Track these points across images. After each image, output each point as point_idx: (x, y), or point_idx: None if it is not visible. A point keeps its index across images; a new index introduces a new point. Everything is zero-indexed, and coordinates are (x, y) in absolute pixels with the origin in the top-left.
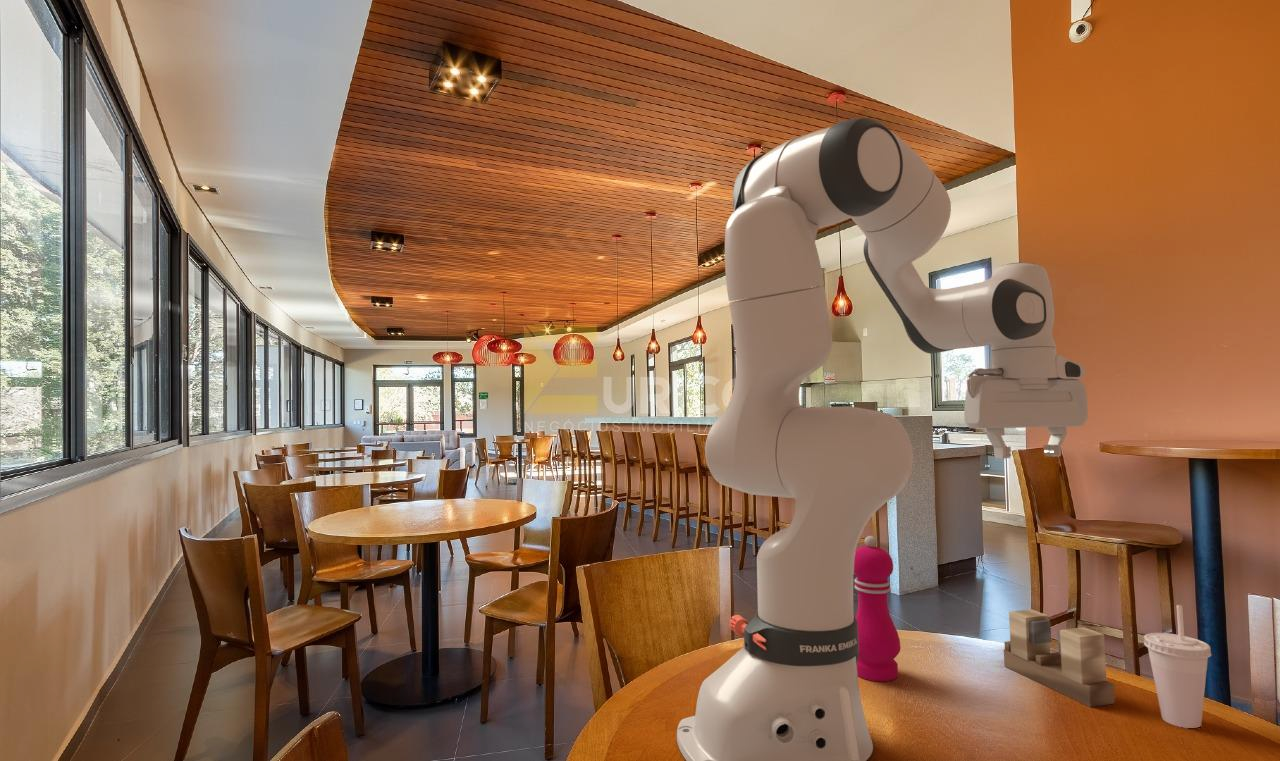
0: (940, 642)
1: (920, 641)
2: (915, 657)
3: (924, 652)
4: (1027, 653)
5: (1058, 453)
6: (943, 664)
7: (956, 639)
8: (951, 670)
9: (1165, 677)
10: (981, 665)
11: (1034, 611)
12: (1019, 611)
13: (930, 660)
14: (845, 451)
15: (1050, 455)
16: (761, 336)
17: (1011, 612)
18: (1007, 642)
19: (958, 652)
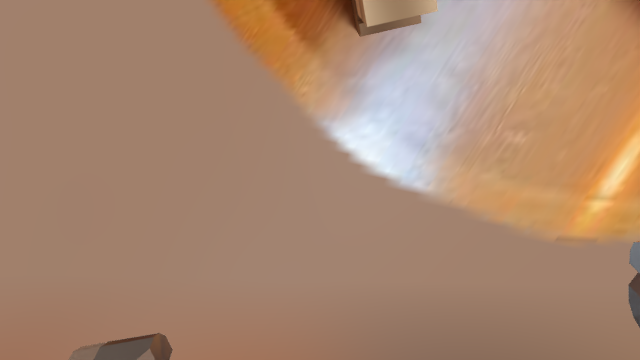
0: (455, 156)
1: (491, 163)
2: (557, 79)
3: (521, 104)
4: None
5: (98, 352)
6: (525, 38)
7: (412, 170)
8: (530, 5)
9: None
10: (453, 28)
11: (370, 8)
12: (409, 11)
13: (537, 61)
14: None
15: (169, 353)
16: None
17: (435, 4)
18: (417, 17)
19: (454, 101)
